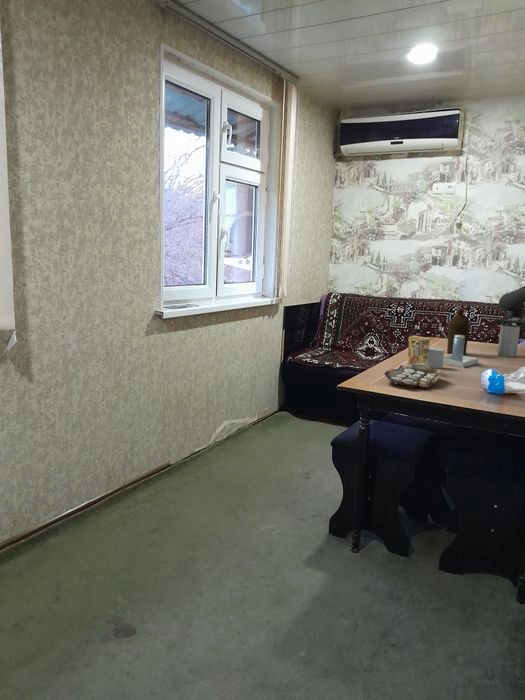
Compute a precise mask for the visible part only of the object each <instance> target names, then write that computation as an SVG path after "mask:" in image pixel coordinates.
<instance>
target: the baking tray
mask: <svg viewBox="0 0 525 700" xmlns="http://www.w3.org/2000/svg"><path fill="white" fill-rule="evenodd" d="M443 373H445V371H444V370H439V371H438V370H437V368H434V367H433V366H431V365H427V364H421V363H415V364H412V363H411V364H409V365H407V364H406V365H404V364H401V365H399V366H398V367H397V368H391V369H387V370H386V371H385V372H384V377H386V378H387V379H388V381H389V383H390V384H392V383H393V384H394V383H396V384H401V385H400V386H403V385H407V386H406V387H409V386H413V387H412V388H415V387H416V388H417V387H421V389H422V388H425V387H427V388H429V387H431V386H432V385H433V384H435V383H436V382H437V381H438V379H439V377H441V375H442V374H443ZM424 376H425V377H424ZM406 378H408V379H406ZM421 378H424V379H421ZM402 380H403V381H402ZM417 380H420V382H419V381H417ZM396 384H395V385H396Z"/></svg>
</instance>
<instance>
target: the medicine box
mask: <svg viewBox="0 0 525 700" xmlns="http://www.w3.org/2000/svg"><path fill="white" fill-rule="evenodd" d="M444 354H445V349H443V348H434V347H429V355H428V365H431V366H433V367H434V368H435V369H443V365H444V364H443V357H444V356H445V355H444Z"/></svg>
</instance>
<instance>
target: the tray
mask: <svg viewBox="0 0 525 700" xmlns="http://www.w3.org/2000/svg"><path fill="white" fill-rule="evenodd" d="M478 362H479V358H477V357H472V356H467V355H463V362H460V361H454V360H452V354H446V355H444V357H443V365H445V364H446V366H451V365H453V366H452V367H456V366H458V367H457V368H462V367H464V368H467V367H470V366H473V364H474V365H477V364H478ZM476 363H477V364H476ZM466 366H467V367H466Z"/></svg>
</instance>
